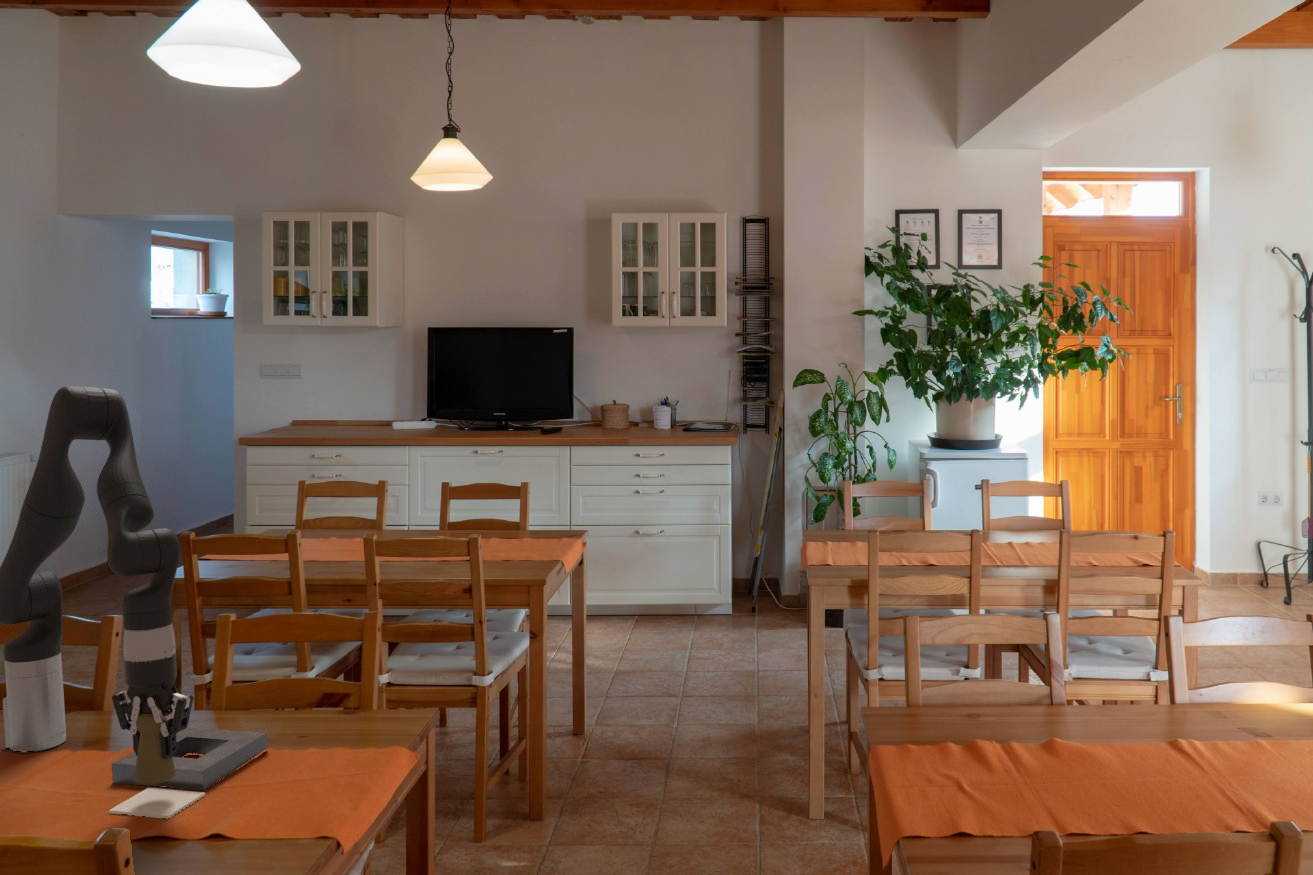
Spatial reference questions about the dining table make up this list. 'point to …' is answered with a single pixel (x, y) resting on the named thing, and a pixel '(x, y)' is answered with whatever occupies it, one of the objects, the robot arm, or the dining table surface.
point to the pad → (157, 803)
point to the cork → (151, 753)
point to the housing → (217, 761)
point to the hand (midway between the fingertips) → (155, 755)
